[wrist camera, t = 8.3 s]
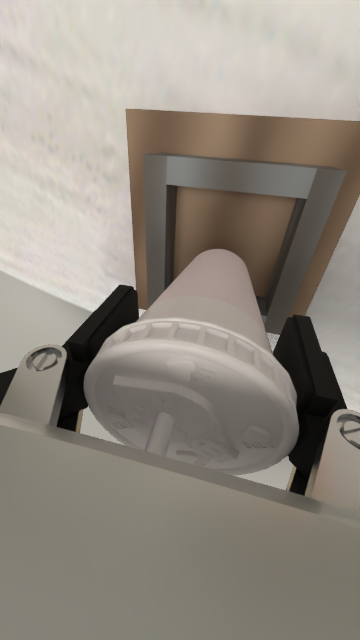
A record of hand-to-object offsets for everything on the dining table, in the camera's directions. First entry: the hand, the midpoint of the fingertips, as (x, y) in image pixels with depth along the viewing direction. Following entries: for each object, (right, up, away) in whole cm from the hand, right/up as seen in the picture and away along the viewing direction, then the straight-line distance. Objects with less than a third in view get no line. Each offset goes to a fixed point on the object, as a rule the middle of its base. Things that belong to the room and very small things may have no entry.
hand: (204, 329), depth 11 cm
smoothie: (+1, +3, +4) cm, 5 cm away
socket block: (+3, +7, +10) cm, 13 cm away
